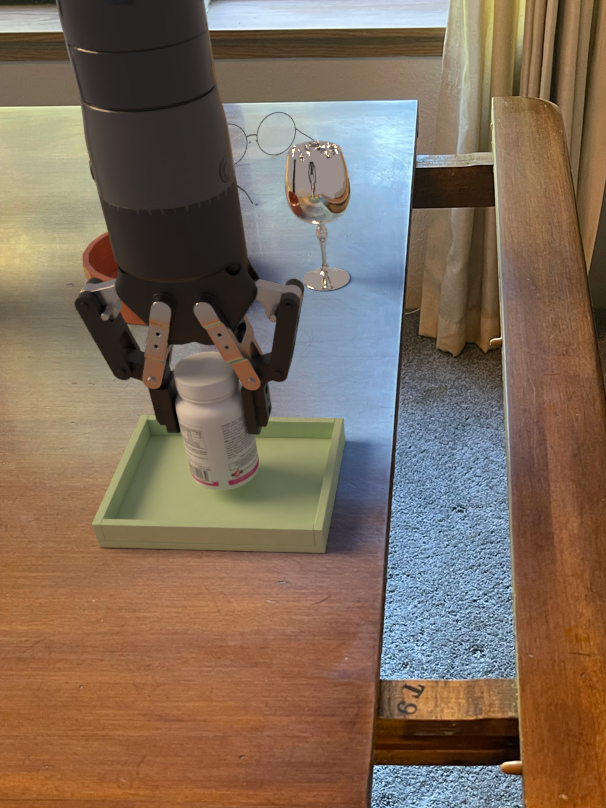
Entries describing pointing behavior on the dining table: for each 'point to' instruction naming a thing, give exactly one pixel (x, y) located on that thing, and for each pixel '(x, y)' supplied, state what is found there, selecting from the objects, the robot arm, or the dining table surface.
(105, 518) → the tray
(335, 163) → the wineglass
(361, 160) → the dining table surface
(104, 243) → the bowl
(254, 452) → the pill bottle
